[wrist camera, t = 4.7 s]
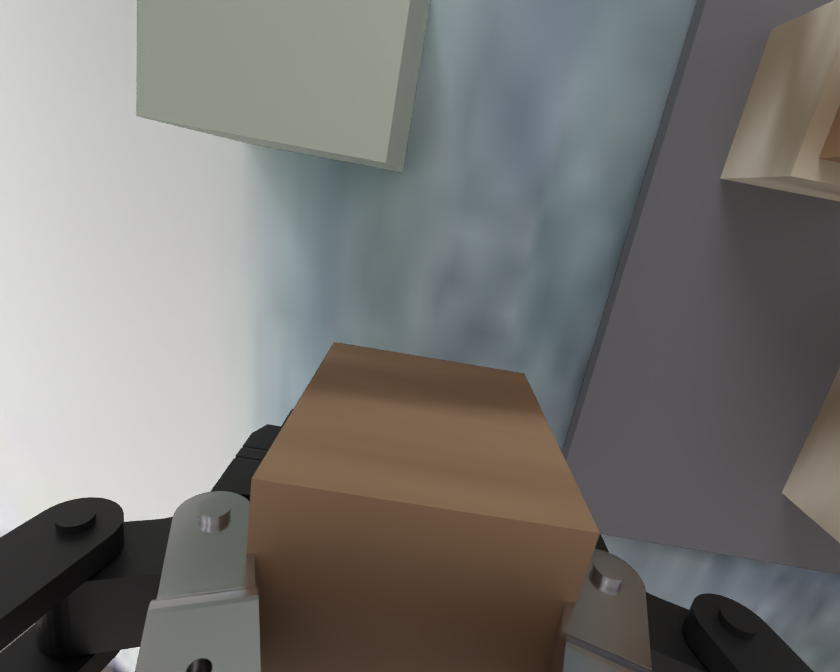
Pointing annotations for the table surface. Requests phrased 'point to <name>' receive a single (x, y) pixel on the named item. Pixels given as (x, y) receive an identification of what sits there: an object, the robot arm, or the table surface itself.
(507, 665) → the walnut block
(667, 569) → the table surface
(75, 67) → the table surface
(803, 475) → the birch base block
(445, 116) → the table surface
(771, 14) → the charcoal mat
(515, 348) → the table surface
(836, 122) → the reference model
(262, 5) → the sage block
